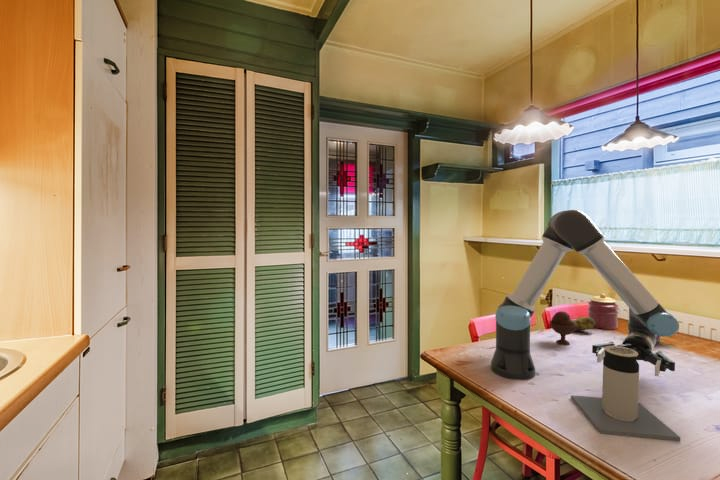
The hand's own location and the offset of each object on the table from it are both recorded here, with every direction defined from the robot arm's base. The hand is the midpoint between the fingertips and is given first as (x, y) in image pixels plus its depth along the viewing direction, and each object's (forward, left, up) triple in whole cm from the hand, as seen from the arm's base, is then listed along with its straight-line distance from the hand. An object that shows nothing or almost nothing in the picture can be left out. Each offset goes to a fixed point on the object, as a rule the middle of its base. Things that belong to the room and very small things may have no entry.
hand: (626, 364), depth 99 cm
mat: (-5, -6, -13) cm, 15 cm away
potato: (+18, +75, -13) cm, 79 cm away
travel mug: (-5, -6, -12) cm, 14 cm away
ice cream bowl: (+3, +56, -13) cm, 57 cm away
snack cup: (+43, +66, -13) cm, 80 cm away
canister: (+34, +87, -13) cm, 94 cm away
